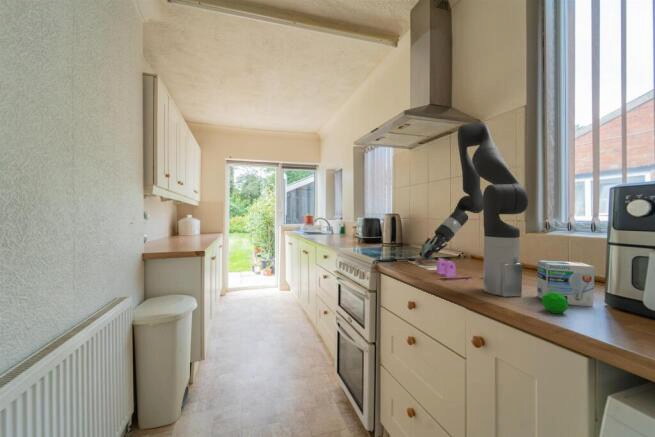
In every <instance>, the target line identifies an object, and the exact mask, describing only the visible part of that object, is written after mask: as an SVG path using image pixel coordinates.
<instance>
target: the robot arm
mask: <svg viewBox="0 0 655 437" xmlns="http://www.w3.org/2000/svg"><path fill="white" fill-rule="evenodd" d="M489 129H490V128H489V127H488V125H487V124H486V123H485V122H482V121H479V122H472V123H468V124H463V125H459V127H458V129H457V146H458V154H459V160H460V166H461V173H462V175H461V176H462V191H463V193H465V194H466V195H464V196H462V197H461V198H460V199H459V200H458V202H457V204H456V207H455V209H454V211H453V212H452V213H451V214H450V215H449V216H448V217H447V218H446V219H445V220H443V221H442V223H440V224H439V226H438V227H437V228H436V229H435V230H434V234H435V235H433V237H431V238H429V237H428V238H427V239H426V240H425V242H424V243H423V244H432V246H431V247H430V249H429V250H428V251H427V252H426V253H425V254H424V255H423V256H424V257H425V258H426V259H428V258H429V257H430V256H431V254H432V255H433V254H437V253H439V252H440V251H442V250H443V249H444V248H445V247H447V246H448V242H449V243H450V241H451V240H452V239H453V238H454V237H455V236H456V234H458V232H459V231H460V230H461V228H462V227H463V226H464V225H465V224H466V223H467V222H468V221H469V215H468V213H466V212H469V213H471V214H472V213H473V214H480V213H481V212H482V211H483V214H482V215H483V230H484V232H483V234H484V235H483V237H484V238H483V278H482V279H483V282H482V283H483V291H484V293H488V294H492V295H495V296H496V295H497V296H501V297H506V298H507V297H520V296H522V294H523V293H522V292H523V291H522V290H523V289H522V288H523V263H520V246H521V245H520V242H521V240H520V238H521V237H520V236H521V229H520V228H519V227H518V226H514V225H511V224H509V223H507V222H505V221H503V220H502V219H501V217H500V215H519V214H522V213H524V212H525V211H526V210H527V208H528V205H529V196H528V193H527V190H526V189H525V187H524V186H523V184H522V182H520V181H519V179H518V178H517V177H516V176H515V174H514V173H513V172H512V171H511V169H510V167H509V165H508V164H507V163H506V161H505V159H504V157H503V155H502V153H501V151H500V150H499V149H498V147H497V145H496V143H495V142H494V139H493V138H492V135H491V131H490V130H489ZM477 146H478V147H477ZM469 147H477V149H476V150H475V151H474V153H473V154H472V158H471V157H470V155H469V153H468V148H469ZM481 179H483V180H485V181H487V182H488V183H490V184H489V185H487V186H486V187H485V188H484V190H483V192H482V189H481ZM418 256H420V258H422V250H421V251H420V252H419V253H418Z"/></svg>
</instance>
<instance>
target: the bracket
mask: <svg viewBox="0 0 655 437" xmlns="http://www.w3.org/2000/svg"><path fill="white" fill-rule="evenodd" d="M436 261H437V270H436V274H438V275H442V274H443V275H444V277H442V278H441V277H440V279H442V280H444V281H456V280H457V281H458V280H467V279H468V280H470V279H472V278H473V277H472V276H470V277H469V276H468V277H456V276H457V275H456V263H455V262H454V261H451V260H445V259H442V258H440V259H438V260H436Z"/></svg>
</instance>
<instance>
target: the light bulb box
mask: <svg viewBox="0 0 655 437" xmlns="http://www.w3.org/2000/svg"><path fill="white" fill-rule="evenodd" d="M595 269H596V267H595V266H593V265H590V264H587V263H584V262H580V261H578V262H577V261H560V260H559V261H557V260H556V261H555V260H539V259H538V260H537V278H536V279H537V280H536V282H537V283H536V287H537V288H536V296H537V297H538V298H540V299H541V300H542V298H543V296H544V295H545V294H546V293H549V292H556V293H560V294H561V295H563V296H564V297H565V298H566V300H567V301H568V306H570V305H571V306H581V307H590V306H593V307H594V294H595V293H594V292H595V271H596V270H595Z"/></svg>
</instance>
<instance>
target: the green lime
mask: <svg viewBox="0 0 655 437" xmlns="http://www.w3.org/2000/svg"><path fill="white" fill-rule="evenodd" d="M541 303H542V305H543V307H544V308H545V310H546V311H549V312H551V313H553V314H562V313H565V312H566V311H567V310H568V308H569V304H568V301H567V300H566V298H565V297H564V296H563V295H561V294H560V293H556V292H549V293H546V294H545V295H544V296H543V298H542V299H541Z"/></svg>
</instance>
